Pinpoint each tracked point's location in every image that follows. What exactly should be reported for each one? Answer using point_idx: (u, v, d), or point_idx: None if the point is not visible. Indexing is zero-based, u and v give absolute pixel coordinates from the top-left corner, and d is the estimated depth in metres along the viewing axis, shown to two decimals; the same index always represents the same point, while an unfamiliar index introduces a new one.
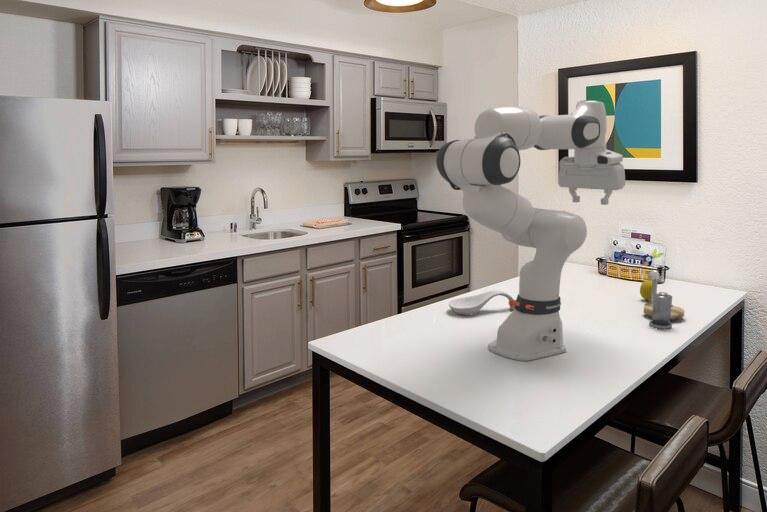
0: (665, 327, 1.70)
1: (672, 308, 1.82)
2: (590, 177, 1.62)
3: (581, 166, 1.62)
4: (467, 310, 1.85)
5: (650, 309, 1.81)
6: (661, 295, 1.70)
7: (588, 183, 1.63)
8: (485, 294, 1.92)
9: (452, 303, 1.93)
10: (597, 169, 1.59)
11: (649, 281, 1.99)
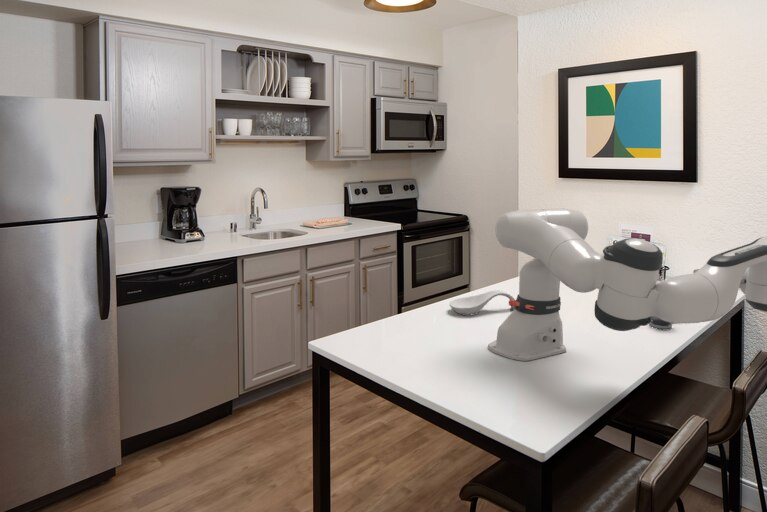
0: (665, 327, 1.70)
1: None
2: None
3: None
4: (468, 310, 1.85)
5: None
6: None
7: None
8: (486, 294, 1.92)
9: (453, 303, 1.93)
10: None
11: None
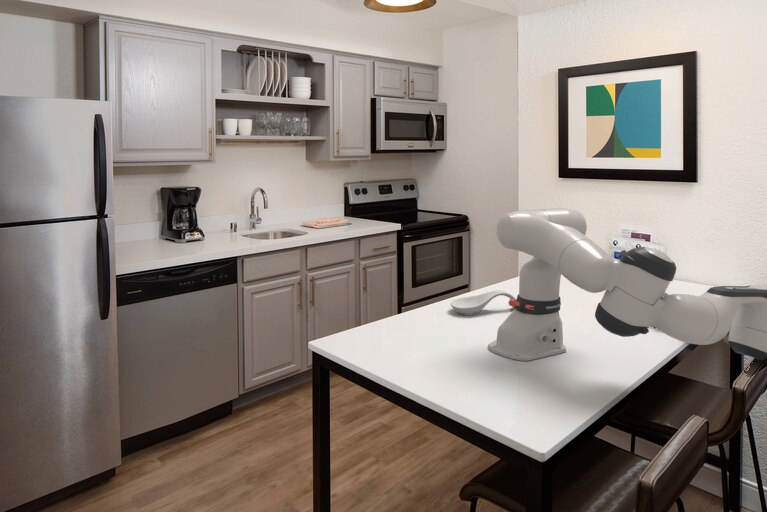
0: None
1: None
2: None
3: None
4: (469, 310, 1.85)
5: None
6: None
7: None
8: (487, 294, 1.92)
9: (454, 302, 1.93)
10: None
11: None
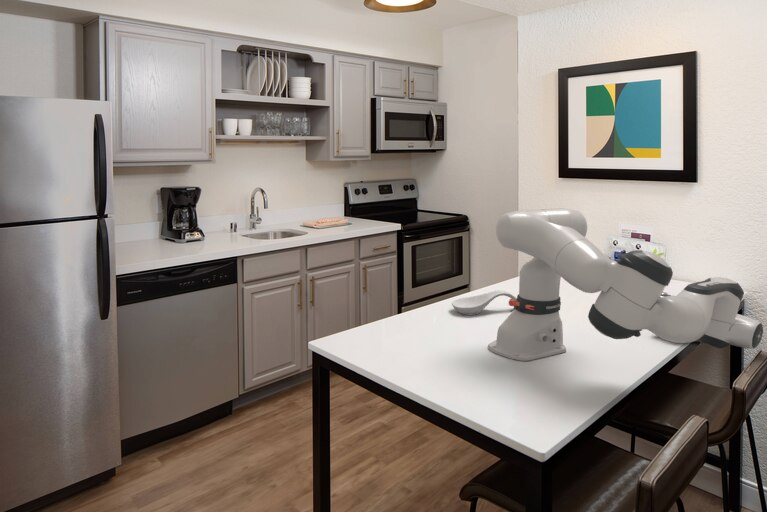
0: None
1: None
2: None
3: None
4: (469, 309, 1.85)
5: None
6: (661, 295, 1.70)
7: None
8: (489, 294, 1.92)
9: (455, 302, 1.93)
10: None
11: None
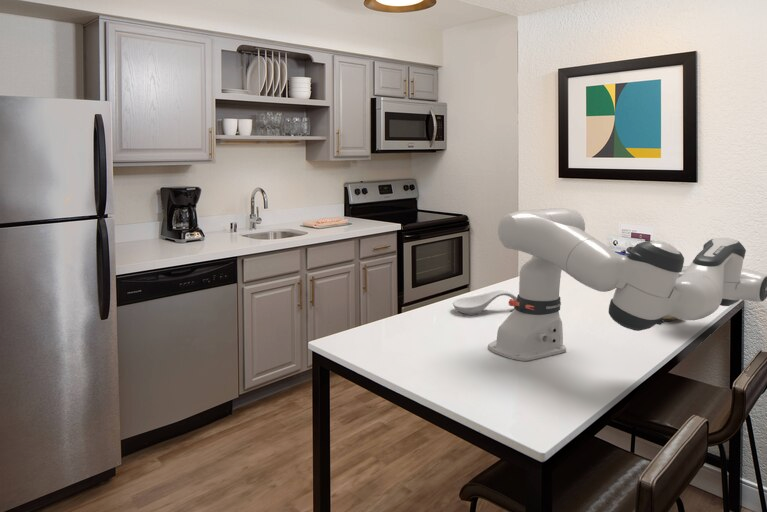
0: None
1: None
2: None
3: None
4: (470, 309, 1.85)
5: None
6: None
7: None
8: (490, 294, 1.92)
9: (456, 302, 1.93)
10: None
11: None
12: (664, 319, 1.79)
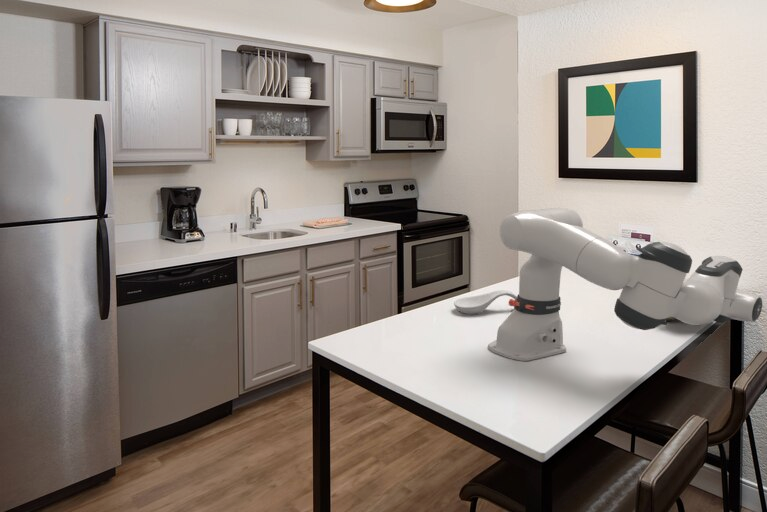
0: None
1: None
2: None
3: None
4: (471, 309, 1.86)
5: None
6: None
7: None
8: (491, 293, 1.93)
9: (458, 302, 1.94)
10: None
11: None
12: None
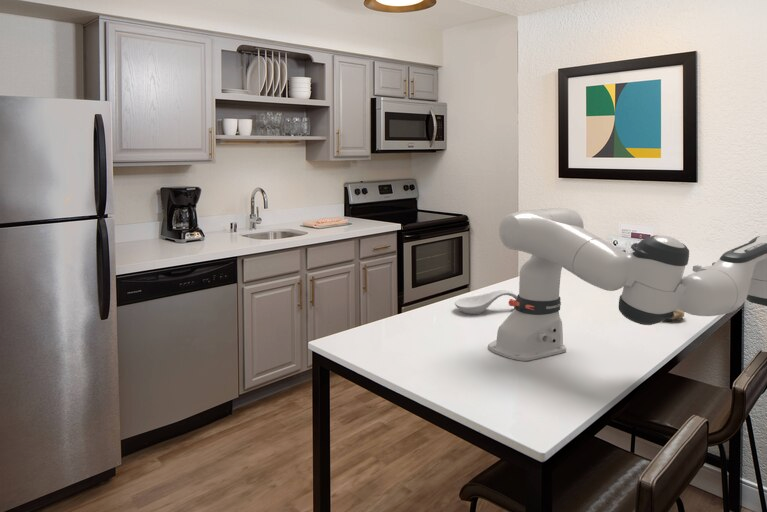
0: None
1: None
2: None
3: None
4: (472, 309, 1.86)
5: None
6: None
7: None
8: (492, 293, 1.93)
9: (459, 302, 1.94)
10: None
11: None
12: None
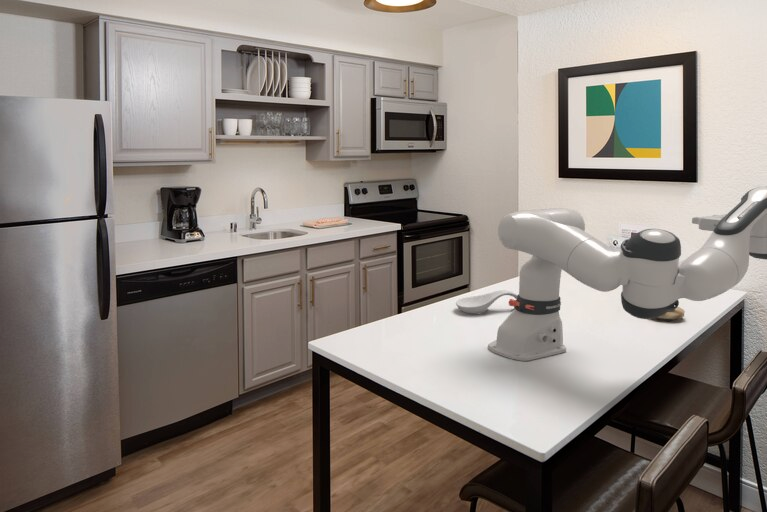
0: None
1: None
2: None
3: None
4: (473, 309, 1.86)
5: None
6: None
7: None
8: (493, 293, 1.93)
9: (460, 302, 1.94)
10: None
11: None
12: (664, 319, 1.79)
